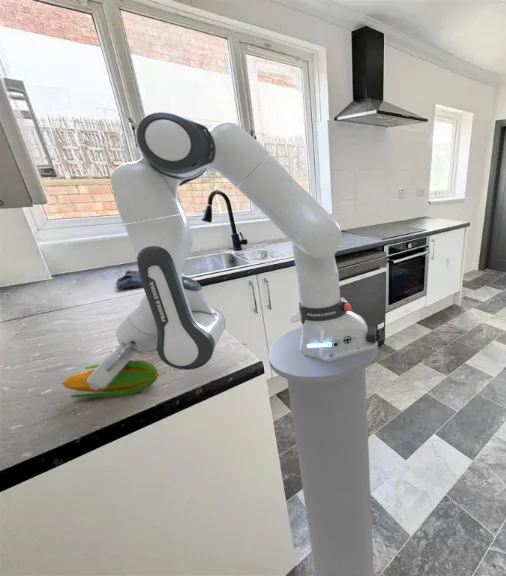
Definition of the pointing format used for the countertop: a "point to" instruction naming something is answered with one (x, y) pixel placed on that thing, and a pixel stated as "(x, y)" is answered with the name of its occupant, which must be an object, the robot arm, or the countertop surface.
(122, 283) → the dark slate chunk
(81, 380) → the corn
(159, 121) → the robot arm
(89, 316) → the countertop surface
